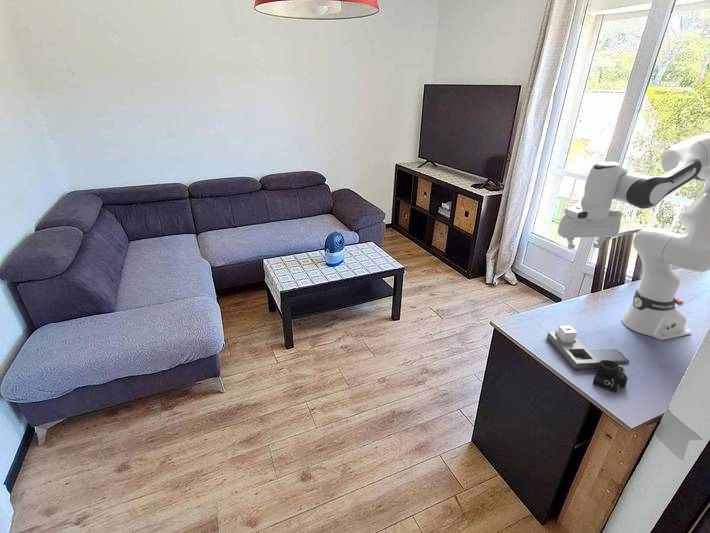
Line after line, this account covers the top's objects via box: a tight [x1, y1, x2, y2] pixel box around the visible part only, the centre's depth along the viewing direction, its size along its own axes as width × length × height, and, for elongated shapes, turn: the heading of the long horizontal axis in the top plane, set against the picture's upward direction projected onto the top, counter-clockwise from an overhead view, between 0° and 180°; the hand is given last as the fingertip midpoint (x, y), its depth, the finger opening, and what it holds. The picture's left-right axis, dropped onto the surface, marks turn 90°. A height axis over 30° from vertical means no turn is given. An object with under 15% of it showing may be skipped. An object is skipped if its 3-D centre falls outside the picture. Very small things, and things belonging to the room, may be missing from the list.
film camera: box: [592, 360, 628, 393], centre depth 118 cm, size 13×8×10 cm
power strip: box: [546, 329, 600, 371], centre depth 131 cm, size 8×18×4 cm, turn 3°
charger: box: [556, 325, 578, 343], centre depth 134 cm, size 4×4×7 cm
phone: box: [587, 348, 630, 365], centre depth 128 cm, size 13×6×1 cm, turn 93°
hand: (583, 247), depth 131 cm, fingers open, 8 cm apart
